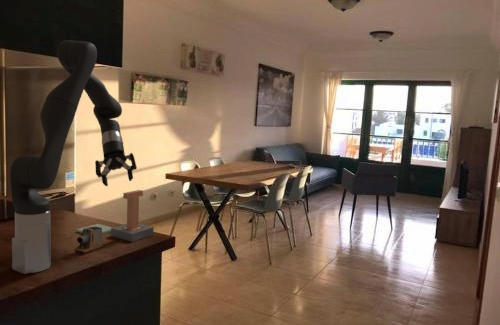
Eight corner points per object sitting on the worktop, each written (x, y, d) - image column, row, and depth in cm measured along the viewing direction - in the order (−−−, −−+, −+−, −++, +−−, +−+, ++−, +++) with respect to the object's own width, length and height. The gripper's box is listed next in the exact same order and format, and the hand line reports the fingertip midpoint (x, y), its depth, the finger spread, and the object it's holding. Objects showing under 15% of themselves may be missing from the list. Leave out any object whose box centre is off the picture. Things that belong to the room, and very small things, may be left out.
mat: (94, 237, 153) (94, 234, 153) (76, 231, 158) (76, 229, 158) (115, 230, 162) (115, 228, 162) (97, 226, 166) (97, 223, 166)
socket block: (132, 241, 150) (132, 233, 150) (110, 236, 155) (111, 228, 155) (153, 234, 160) (153, 227, 159) (132, 229, 165) (132, 222, 164)
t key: (129, 239, 153) (130, 194, 151) (119, 236, 155) (120, 192, 153) (144, 234, 160) (145, 191, 157) (135, 231, 162) (136, 189, 160)
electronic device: (73, 253, 136) (73, 230, 135) (93, 244, 145) (93, 224, 144) (84, 255, 135) (84, 232, 134) (103, 246, 144) (104, 225, 143)
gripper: (90, 144, 152) (95, 182, 145) (129, 136, 154) (136, 173, 147) (96, 154, 158) (101, 191, 151) (133, 146, 161) (140, 182, 154)
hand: (118, 182), depth 149 cm, fingers open, 8 cm apart
